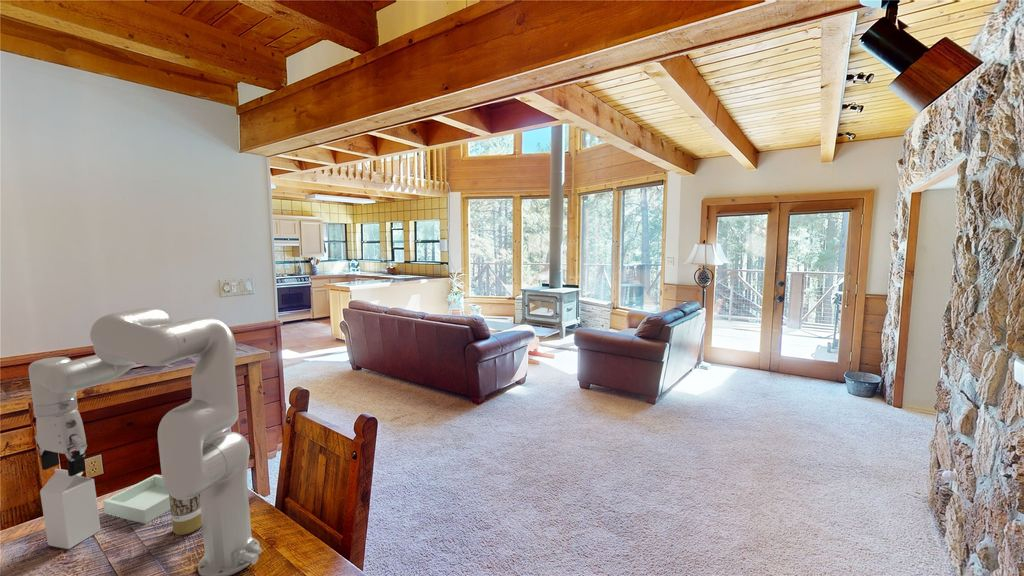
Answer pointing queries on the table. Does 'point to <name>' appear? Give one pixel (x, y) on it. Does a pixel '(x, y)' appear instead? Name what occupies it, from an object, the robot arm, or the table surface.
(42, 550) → the table surface
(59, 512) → the milk carton
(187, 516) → the paper tube
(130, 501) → the tray
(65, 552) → the table surface
